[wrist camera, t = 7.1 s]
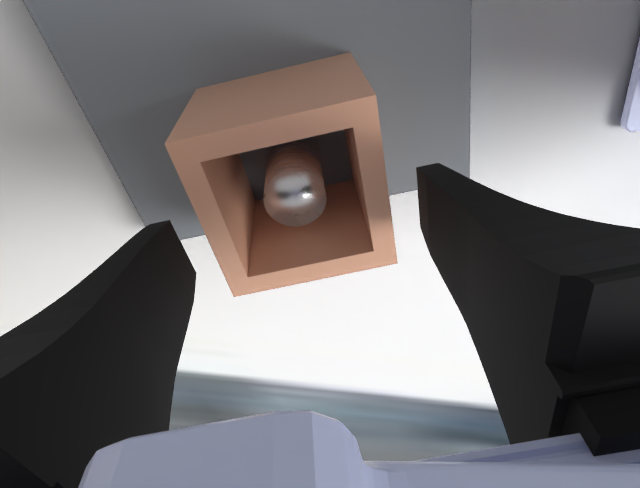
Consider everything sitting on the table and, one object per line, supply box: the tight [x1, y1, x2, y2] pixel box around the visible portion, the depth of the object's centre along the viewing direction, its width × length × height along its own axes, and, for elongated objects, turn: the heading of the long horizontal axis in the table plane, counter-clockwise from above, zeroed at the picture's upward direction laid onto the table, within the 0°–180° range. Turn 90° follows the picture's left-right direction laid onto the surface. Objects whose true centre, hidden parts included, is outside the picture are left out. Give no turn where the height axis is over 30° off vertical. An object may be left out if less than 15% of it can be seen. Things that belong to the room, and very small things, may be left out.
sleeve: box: [165, 52, 397, 297], centre depth 14 cm, size 6×6×5 cm
